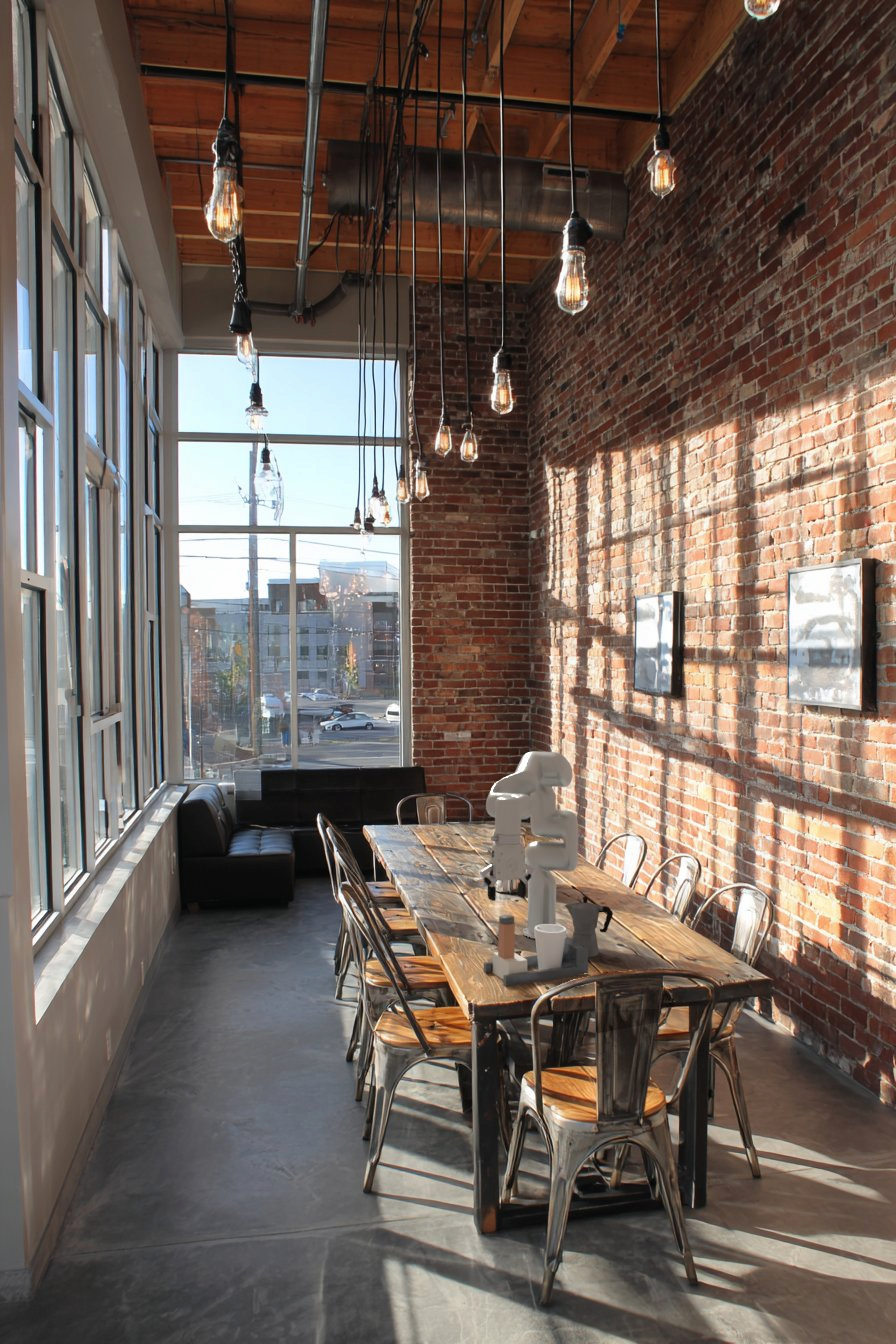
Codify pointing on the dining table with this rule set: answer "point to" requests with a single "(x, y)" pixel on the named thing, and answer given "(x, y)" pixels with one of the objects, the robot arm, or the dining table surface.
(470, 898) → the dining table surface
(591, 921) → the coffeepot
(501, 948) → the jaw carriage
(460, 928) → the dining table surface
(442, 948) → the dining table surface
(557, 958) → the foam cup
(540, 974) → the grey frame
